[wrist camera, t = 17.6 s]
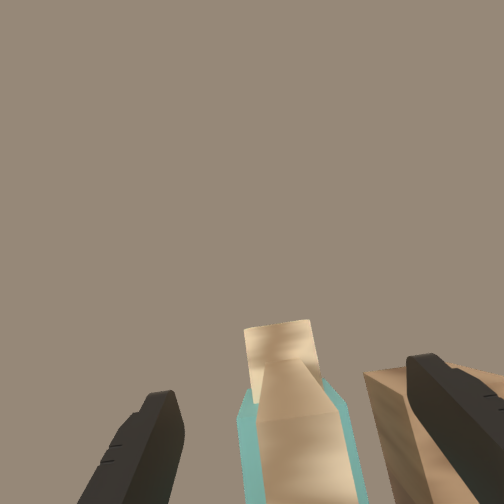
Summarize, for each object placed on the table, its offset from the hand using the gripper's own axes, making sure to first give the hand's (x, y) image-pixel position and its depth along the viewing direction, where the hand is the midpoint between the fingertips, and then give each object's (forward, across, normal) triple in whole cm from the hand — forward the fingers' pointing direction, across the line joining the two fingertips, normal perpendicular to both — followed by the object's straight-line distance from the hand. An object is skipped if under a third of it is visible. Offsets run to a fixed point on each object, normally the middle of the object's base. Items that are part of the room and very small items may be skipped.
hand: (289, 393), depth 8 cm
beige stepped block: (+7, 0, +9) cm, 11 cm away
